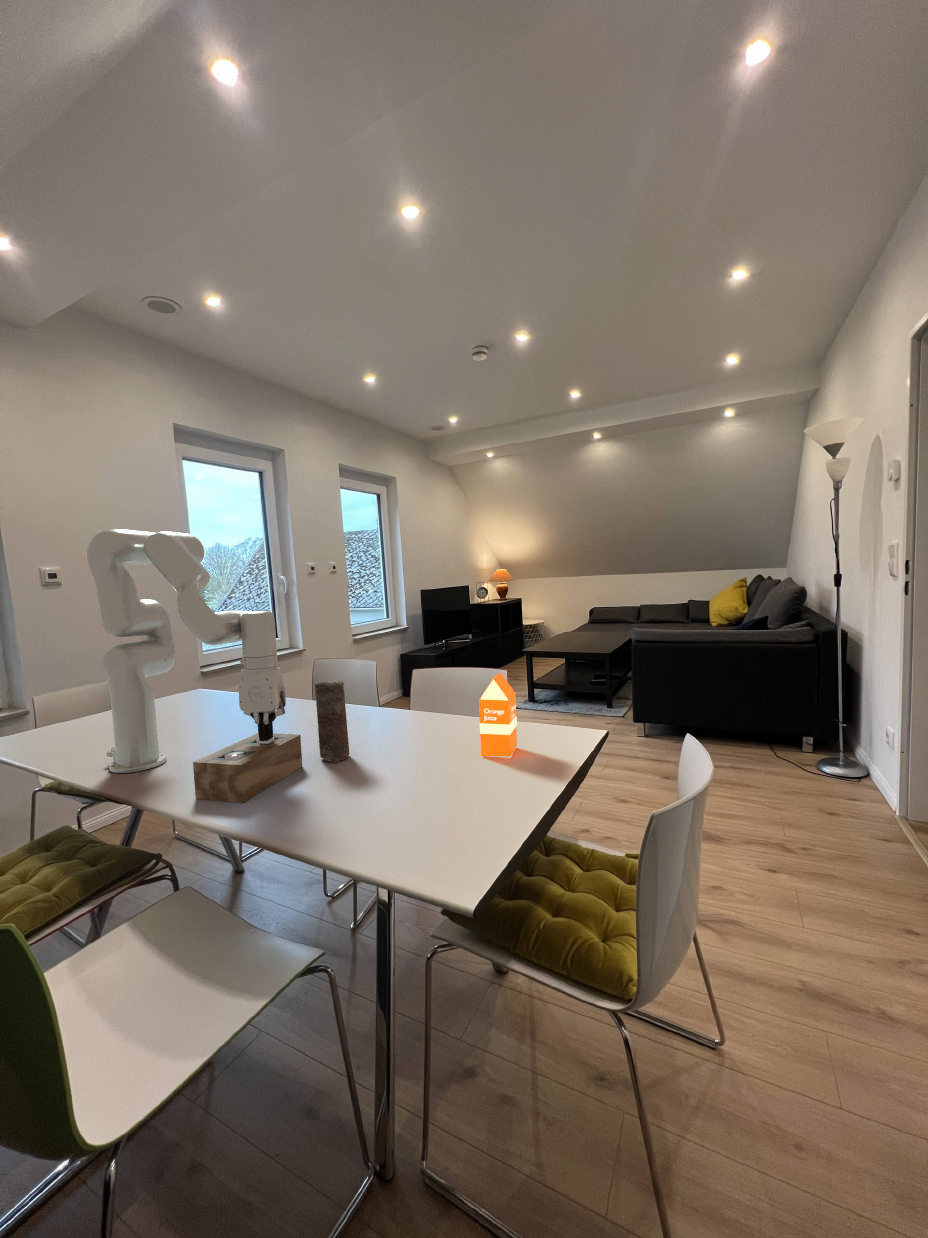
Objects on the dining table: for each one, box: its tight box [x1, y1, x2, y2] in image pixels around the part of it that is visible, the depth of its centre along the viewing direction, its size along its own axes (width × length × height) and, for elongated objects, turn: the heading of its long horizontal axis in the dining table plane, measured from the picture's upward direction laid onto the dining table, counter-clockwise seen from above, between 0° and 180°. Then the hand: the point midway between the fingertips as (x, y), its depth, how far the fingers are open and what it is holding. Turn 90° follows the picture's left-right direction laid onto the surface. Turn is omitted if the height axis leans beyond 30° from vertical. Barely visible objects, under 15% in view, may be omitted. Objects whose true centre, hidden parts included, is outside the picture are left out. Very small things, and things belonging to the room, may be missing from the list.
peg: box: [224, 752, 244, 759], centre depth 118 cm, size 4×4×7 cm
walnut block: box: [192, 732, 303, 804], centre depth 123 cm, size 12×22×8 cm, turn 165°
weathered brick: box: [314, 680, 350, 763], centre depth 137 cm, size 8×7×20 cm
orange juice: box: [478, 672, 518, 757], centre depth 137 cm, size 8×9×20 cm
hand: (266, 739), depth 128 cm, fingers closed
